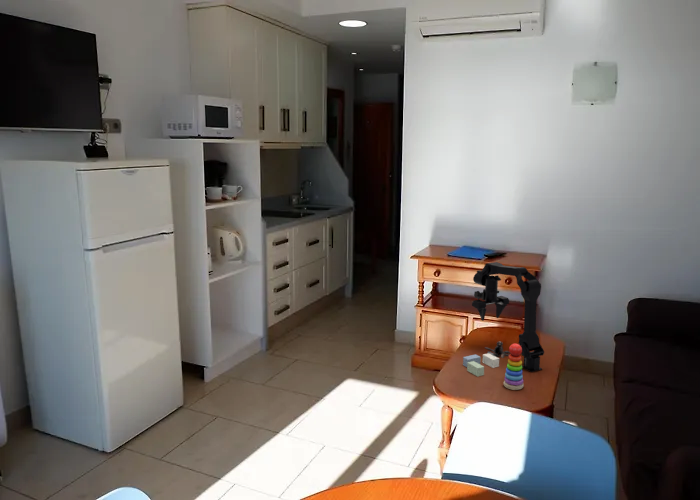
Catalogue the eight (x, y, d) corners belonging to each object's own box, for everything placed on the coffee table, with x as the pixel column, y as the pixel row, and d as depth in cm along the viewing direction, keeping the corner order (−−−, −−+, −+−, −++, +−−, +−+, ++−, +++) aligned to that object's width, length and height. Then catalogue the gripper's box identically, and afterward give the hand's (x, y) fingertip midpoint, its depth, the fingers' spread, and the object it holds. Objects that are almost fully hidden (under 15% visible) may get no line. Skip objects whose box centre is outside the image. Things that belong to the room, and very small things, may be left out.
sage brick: (483, 375, 235) (484, 366, 235) (477, 376, 234) (477, 368, 233) (473, 369, 242) (473, 361, 241) (467, 370, 240) (467, 362, 239)
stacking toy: (499, 384, 226) (501, 341, 223) (515, 381, 229) (517, 339, 225) (511, 392, 219) (513, 348, 215) (527, 388, 222) (530, 345, 218)
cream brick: (498, 366, 244) (499, 358, 243) (492, 368, 243) (493, 359, 242) (488, 361, 250) (488, 353, 250) (482, 362, 249) (482, 354, 248)
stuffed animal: (515, 357, 252) (493, 341, 254) (501, 372, 255) (481, 356, 257) (516, 348, 262) (496, 332, 265) (504, 362, 266) (484, 347, 268)
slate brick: (475, 362, 249) (475, 354, 248) (480, 365, 246) (480, 356, 245) (463, 365, 246) (463, 357, 245) (467, 368, 243) (468, 359, 242)
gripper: (495, 282, 272) (493, 312, 275) (465, 286, 264) (464, 317, 267) (510, 287, 262) (509, 318, 265) (480, 292, 254) (479, 323, 257)
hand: (489, 319), depth 264 cm, fingers open, 9 cm apart
